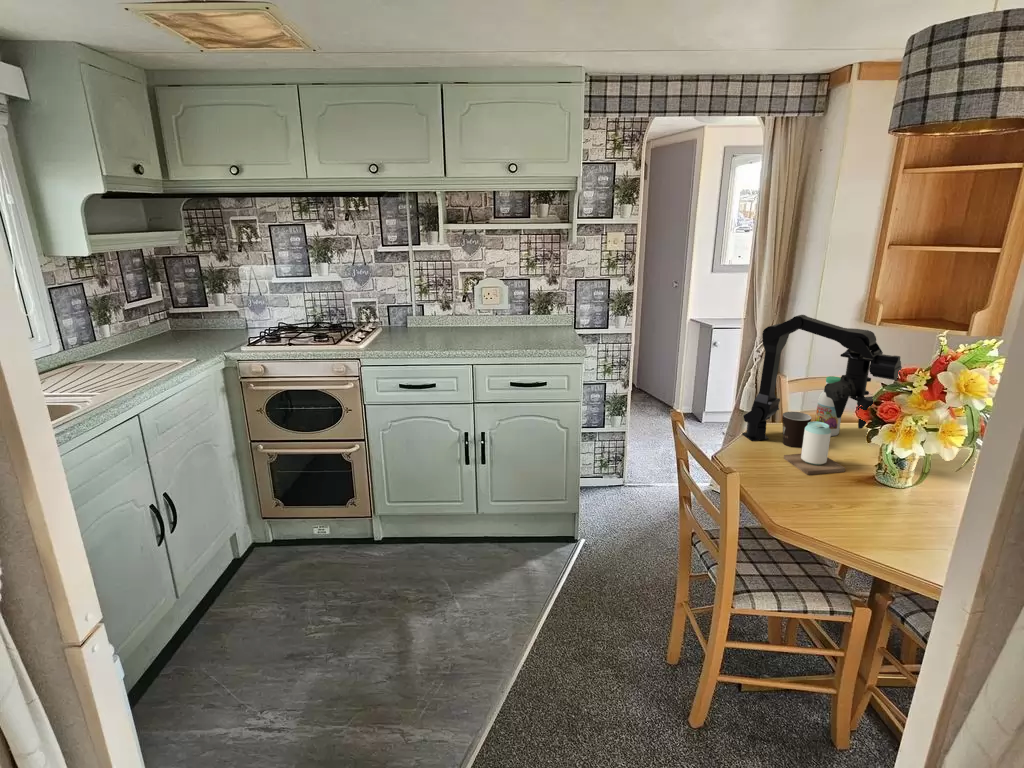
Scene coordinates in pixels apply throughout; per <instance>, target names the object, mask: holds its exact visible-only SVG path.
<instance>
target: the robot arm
mask: <svg viewBox="0 0 1024 768" xmlns="http://www.w3.org/2000/svg"><path fill="white" fill-rule="evenodd" d="M798 330H802V331H804V332H806V333H807V332H808V333H810V334H812V335H813V334H814V335H817V336H820V337H823V338H826V339H829V340H832V341H835V342H837V343H839V344H840V345H841V346H842V347H844V349H845V348H846V350H845V351H844V352H843V353H841V354H839V355H840V357H841V358H847V363H846V370H845V374H842V375H841V376H840V378H841V379H840V381H838V382H834V383H828V384H827V385H826V384H825V385H824V388H823V391H824V392H825V393H826V396H827V397H829V398H831V399H832V400H833V403H834V407H835V411H836V416H837V418H841V419H842V416H843V413H844V411H845V408H846V405H847V404H848V400H849V399H851V400H854V401H856V405H857V406H856V407H855V409H856V410H857V408H858V407H859V406H860V405H862V406H863V407H862V406H861V407H859V408H861V409H863V410H867V408H868V407H869V406H871V405H872V404H873V399H872V398H873V397H874V396H875V395H874V396H869V395H870V391H869V390H867V384H868V382H869V383H871V382H872V378H871V377H870V376H869V373H870V375H872V377H874V378H880V379H886V380H891V381H897V380H898V379H897V377H898V371H899V370H901V371H902V369H903V368H902V362H901V356H900V355H889V354H884V353H883V350H882V349H881V347H880V345H879V344H878V342H877V336H876V335H875V333H874V332H873V331H871V330H868V329H860V328H849V327H848V328H847V327H843V326H841V325H840V326H839V325H836V324H833V323H829V322H826V321H824V320H823V321H822V320H819V319H816V318H812V317H810V316H807V315H806V314H799V315H796V316H795V315H794V316H793V317H792V318H790V319H789V320H786V321H784V322H782V323H776V324H772V325H770V326H767V327H765V328H764V329H763V331H762V346H763V348H764V358H763V359H764V360H763V364H762V365H763V366H762V372H761V379H760V384H759V390H758V393H757V395H756V396H755V398H754V400H753V403H752V405H751V410H750V411H748V412H746V413H745V414H743V421H744V422H745V423H747V424H746V432H742V434H741V435H742V436H744V437H745V438H747V439H748V440H749V441H752V442H753V441H767V440H769V439H770V438H769V437H768V436H767V435H766V434H767V420H770V418H771V417H772V416H774V415H775V414H776V413H777V411H779V410H780V407H779V406H780V402H781V398H779V397H778V398H777V397H776V394H775V390H776V385H777V379H778V373H779V366H780V359H781V353H782V351H783V349H784V348H785V346H786V345H787V342H788V340H789V339H788V338H789V336H790V335H791V334H793V333H794V332H796V331H798ZM899 374H900V375H901V373H900V372H899ZM898 378H899V377H898ZM859 408H858V410H859ZM858 410H857V411H858ZM866 424H867V423H866V422H865V421H863V420H861V419H859V418H858V421H857V427H858V428H857V429H859V430H860V429H863V428H864V427H865V425H866Z"/></svg>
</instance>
